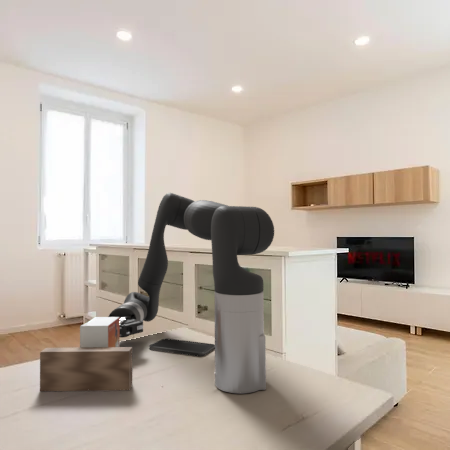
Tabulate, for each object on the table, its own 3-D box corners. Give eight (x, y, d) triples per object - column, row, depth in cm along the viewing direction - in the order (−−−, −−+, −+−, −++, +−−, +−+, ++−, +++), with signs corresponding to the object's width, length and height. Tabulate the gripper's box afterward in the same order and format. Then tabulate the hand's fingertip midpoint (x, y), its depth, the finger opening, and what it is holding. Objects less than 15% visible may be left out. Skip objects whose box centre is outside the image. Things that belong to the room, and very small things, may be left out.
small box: (107, 381, 71) (108, 325, 71) (78, 380, 71) (79, 325, 71) (120, 365, 79) (120, 316, 79) (94, 365, 79) (94, 316, 79)
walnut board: (132, 384, 69) (132, 347, 69) (129, 390, 67) (129, 351, 67) (46, 385, 69) (46, 347, 69) (39, 391, 66) (40, 351, 67)
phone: (202, 353, 85) (147, 346, 90) (202, 358, 84) (147, 350, 90) (216, 344, 92) (164, 337, 98) (216, 348, 92) (164, 342, 98)
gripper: (101, 304, 96) (74, 319, 79) (152, 304, 96) (136, 319, 79) (101, 333, 96) (74, 354, 79) (152, 333, 96) (136, 354, 79)
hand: (105, 336), depth 79 cm, fingers closed
